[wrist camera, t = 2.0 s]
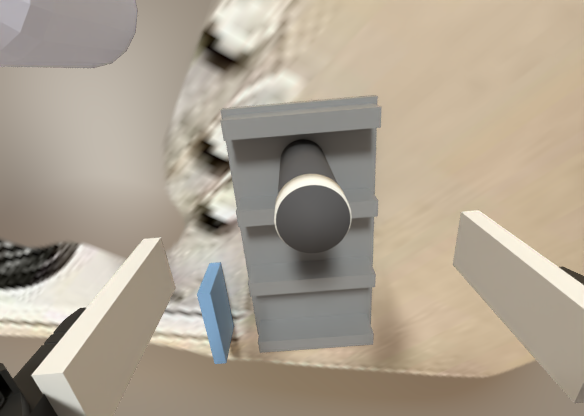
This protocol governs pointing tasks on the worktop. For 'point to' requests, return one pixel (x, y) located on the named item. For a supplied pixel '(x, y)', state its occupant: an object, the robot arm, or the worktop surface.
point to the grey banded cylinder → (309, 200)
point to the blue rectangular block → (216, 312)
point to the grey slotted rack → (282, 258)
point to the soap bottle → (65, 32)
